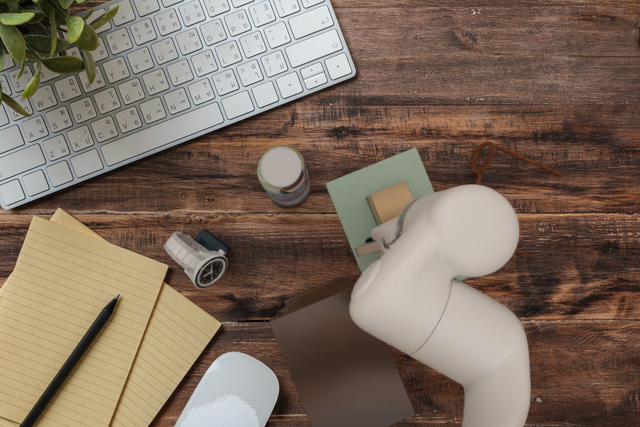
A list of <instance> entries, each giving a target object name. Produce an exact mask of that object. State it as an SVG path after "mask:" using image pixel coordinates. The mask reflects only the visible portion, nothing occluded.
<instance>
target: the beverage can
mask: <svg viewBox="0 0 640 427" xmlns="http://www.w3.org/2000/svg"><path fill="white" fill-rule="evenodd" d="M256 174H257V178H258V181H259V183H260V185H261V187H262V188H263V190H264V191H265V192H266V194H267V196H268V197H269V199H270V201H271V202H272V203H273V205H275V206H277V207H279V208H281V209H285V210H291V209H296V208H298V207H300V206H302V205H303V204H304V203H305V202H306V201H307V200H308V198H309V196H310V194H311V189H312V188H311V187H312V186H311V181H310V175H309V168H308V165H307V161H306V159H305V157H304V156H303V155H302V153H301V152H300V151H299V150H297V149H296V148H293V147H292V146H291V147H290V146H288V145H277V146H274V147H272V148H269V149H268V150H267V151H265V152H264V153H263V154H262V155H261V157H260V159H259V160H258V163H257V168H256Z"/></svg>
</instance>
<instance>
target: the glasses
mask: <svg viewBox="0 0 640 427" xmlns="http://www.w3.org/2000/svg"><path fill="white" fill-rule="evenodd" d="M486 147H489V154H488V157H487V159H486V161H485V163H484V164H483V165H481V166H482V167H480V168H476V162H477V158H478V157H479V155H480V153H481V151H482V150H483V149H484V148H486ZM495 149H496V150H499V151H501V152H503V153H505V154H507V155H510V156H512V157H514V158H517V159H519V160H521V161H523V162H525V163H529V164H531V165H534V166H536V167H538V168H540V169H544V170H546V171H548V172H550V173H552V174H554V175H555V176H558V177H562V176H563V174H562V173H561V172H560V171H557V170H556V169H554V168H551V167H549V166H547V165H546V164H543V163H541V162H538V161H536V160H534V159H531V158H529V157H526V156H525V155H522V154H520V153H517V152H515V151H513V150H510V149H508V148H506V147H503V146H501V145H499V144H497V143H494V142H492V141H490V140H485V141H483V142H481V144H479V146H478V147H477V148H476V149H475V151H474V153H473V155H472V157H471V161H470V171H471V172H472V173H474V174H476V179H475V182H474V184H475V185H481V181H482V175H483V174H484V172H486V170H487V169H488V168H489V166H490V165H491V163H492V161H493V159H494V156H495V151H496V150H495ZM515 252H517V253H520V254H523V255H525V256H528V257H529V258H532V259H534V258H535V255H534V254H533V253H530V252H528V251H524V250H522V249H519V248H517V247H516V249H515Z"/></svg>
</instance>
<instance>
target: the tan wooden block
mask: <svg viewBox="0 0 640 427" xmlns="http://www.w3.org/2000/svg"><path fill="white" fill-rule="evenodd" d="M365 198H366V200H367V203H368V205H369V208H370V210H371V213H372V215H373V217H374V220H375V222H376V225H377V226H379V225H381V224H383V223H385V222H387V221H389V220H391V219H393V218H395V217H397V216H399V214H400V212H401V211H402V209H403V208H404V207H405V206H406V205H407V204H408V203H409V202H410V201H412V200H413V198H412V196H411V193H410V191H409V188H408V186H407V183H406V181H403V182H401V183H398V184H396V185H393V186H391V187H388V188H386V189H383V190H381V191H379V192H376V193H374V194H371V195H369V196H367V197H365Z"/></svg>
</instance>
